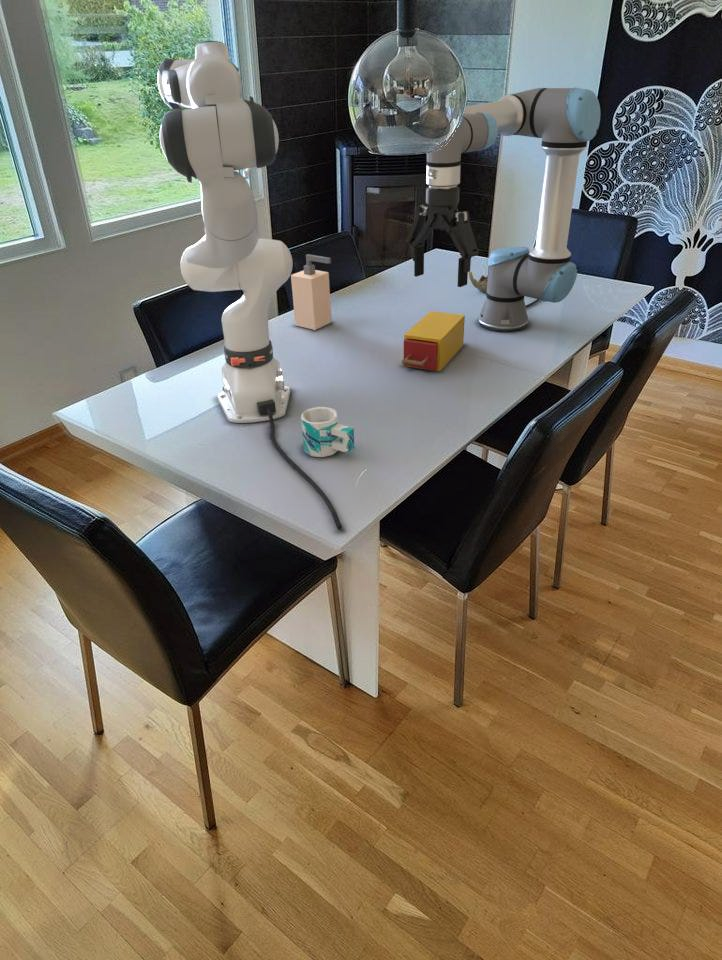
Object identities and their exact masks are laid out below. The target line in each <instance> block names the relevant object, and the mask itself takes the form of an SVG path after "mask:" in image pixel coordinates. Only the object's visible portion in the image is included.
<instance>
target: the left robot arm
mask: <svg viewBox="0 0 722 960" xmlns="http://www.w3.org/2000/svg"><path fill="white" fill-rule="evenodd" d="M194 49H195V50H194V52H195V53H194V56H195V57H194V58H188V59H187V58H186V59H185V58H184V59H177V58H173V59H172V58H165V59H164V60H163V61H162V62H161V63H160V65H159V67H158V70H157V77H156V78H157V79H156V80H157V87H158V91H159V94H160V96H161V99H162V100H163V102H164V104H165V105H166V106H168V107H169V108H170V109H171V110H170V111H167V112H165V113H164V114H163V116H162V118H161V124H160V127H159V145H160V147H161V150H162V153H163V155H164V156H165V158H166V160H167V163H168V165H170V166H171V168H172V169H173V170H174V171H176V172H177V173H178V174H179V175H182V176H183V177H186V180H187V182H188V183H192V182H193V178H194V179H196V180H197V181H198V182H199V186H200V199H201V202H200V203H201V205H200V207H201V216H202V221H203V226H204V235H203V237H202V238H201V239H199V240H198V241H197V242H196V243H195V244H193V245H190V246H188V247H187V248H185V250H184V251H183V253H182V255H181V258H180V264H179V265H180V266H179V268H180V269H179V270H180V274H181V277H182V279H183V280H184V282H185V284H186V285H187V286H188V287H189V288H190V289H191V290H193V291H200V292H206V293H207V292H209V293H216V292H228V291H239V290H240V291H244V292H243V294H242V296H241V297H240V298H239V299H238V300H236V301H235V302H233V303H231V304H230V305H229V306H227V307H226V308H225V309H224V311H223V312H222V315H221V327H222V333H223V334H222V335H223V340H224V345H223V355H224V359H225V363H224V364H223V365H222V366H221V367H220V369H221V377H222V383H223V386H222V392H219V393H218V394H217V401H218V403H219V404H220V405H219V406H220V407H221V409H222V411H223V413H224V415H225V418H226V419H227V421H228V422H229V423H235V424H236V423H237V424H249V423H258V422H266V421H269V427H270V432H269V439H270V441H271V443H272V445H273V447H274V448H275V450H276V451H277V452H278V453H279V454H280V456H282V458H283V459H284V460H285V461H286V462H287V463H288V464H289V465H290V466H291V467H292V468H293V469H294V470H295V471H296V472H297V473H298V474H299V475H300V476H301V477H302V478H303V479H305V480H306V481H307V482H308V483H309V484H310V485H311V487H312V488H313V489H314V490H315V491H316V492H317V493H318V495H319V496H320V497H321V498H322V500H323V501H324V502H325V504H326V506H327V508H328V509H329V511H330V513H331V516H332V519H333V521H334V524H335V526H336V529H337V530H339V531H340V530H342V529H343V526H342V524H341V522H340V519H339V516H338V514H337V512H336V509H335V508H334V505H333V503H332V502H331V500H330V499H329V497H328V496H327V495H326V494H325V492H324V491H323V490H322V489H321V488H320V487H319V485H318V484H317V482H316V481H314V479H312V478H311V477H310V476H309V474H307V473H306V472H305V471H304V470H303V469H302V468H300V466H299V465H298V464H297V463H295V462H294V460H292V459H291V458H290V457H289V456H288V455H287V454H286V452H285V451H284V450H283V449H282V448H281V446H280V445H279V444H278V442H277V441H276V438H275V422H274V420H276V419H279V418H283V417H284V416H285V415H286V413H287V409H288V405H289V399H290V396H291V392H292V391H291V387H290V386H288V385H285V381H284V379H283V371H282V368H281V364H280V361H279V360H278V359H276V358H275V357H274V348H273V347H274V346H273V344H272V341H271V339H270V331H269V330H270V329H269V309H270V306H271V303H272V300H273V297H274V295H275V294H276V293H277V291H278V290H279V289H280V288H281V287H282V286H283V285H284V284H285V283H286V282H287V281H288V280H289V278H290V277H291V275H292V271H293V267H294V266H293V264H294V263H293V257H292V254H291V251H290V249H289V247H288V246H287V245H286V244H285V243H284V242H283V241H282V240H278V239H271V238H259V221H258V211H257V205H256V199H255V197H254V193H253V191H252V189H251V186H250V184H249V181H248V180H247V179H251V178H250V177H251V175H250V171H251V169H252V168H256V169H261V168H264V167H268V166H270V165H272V164H273V163H274V162H275V160H276V158H277V153H278V150H279V145H280V143H279V142H280V138H279V137H280V136H279V131H278V127H277V125H276V123H275V120H274V119H273V115H272V114H271V113H270V111H268V110H267V108H265V106H263V105H261V104H259V103H257V102H255V100H254V97H253V96H252V95H249V100H248V99H242V98H243V90H244V89H243V81H242V78H241V76H240V73H239V70H240V68H238V67H237V65H235V64H234V63H233V62H232V61H231V56H230V52H229V48H228V45H227V44H226V43H225V42H223V41H217V40H206V41H202V42H199V43H197V44H196V45H195V48H194ZM240 170H241V171H242V173H243V174H242V173H240V172H238V171H240Z"/></svg>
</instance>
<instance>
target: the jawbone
mask: <svg viewBox="0 0 722 960" xmlns="http://www.w3.org/2000/svg"><path fill="white" fill-rule="evenodd" d="M473 275H474V274H473V271H472V270H470V272H468V276H469V277H468V278H469V280H470V283H471V284H472V285H473V287H474V288H476V289H477V291H479V292H480V293H487V279H488V274H487V275H486V276H485V275H484V274H482V275H481V277H479V279H478V280H477V279H476V278H474V276H473Z"/></svg>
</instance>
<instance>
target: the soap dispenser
mask: <svg viewBox="0 0 722 960" xmlns="http://www.w3.org/2000/svg"><path fill="white" fill-rule="evenodd" d="M305 262H306V263H305V265H303V270H300V271H298V272H295V273H292V274H290V281H291V282H290V283H291V292H292V304H293V311H294V312H293V315H294V325H295V326H297V327H301V328H304V329H310V330H313V331H316V330H318V329H320V328H322V327H324V326H326V325H329V324H331V323H333V322H332V306H331V290H330V289H331V288H330V273H329V271H325V270H324V271H323V270H318V269H316V265H315V264H313V263H312V262H317V263H321V264H326V265H327V264H328V265H329V264H332V258H331V257H327V256H322V255H315V254H309V253H307V254H305Z"/></svg>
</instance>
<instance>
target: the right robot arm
mask: <svg viewBox="0 0 722 960" xmlns="http://www.w3.org/2000/svg"><path fill="white" fill-rule="evenodd" d="M464 107H465V110H464V114H463V115H462V119H461V122H460V120H459V122H458V124H457V126H458V125H459V123H460V125H459V127H458V128H457V126H456V128H455V130H456V132H455V131H454V132H453V133H452V134H451V136H450V137H449V139H450V138H451V140H450V141H449V139H448V141H449V142H448V141H447V142H446V140H445V141H444V142H442V143H441V144H440V143H439V144H440V145H439V146H437V147H434V148H432V149H434V150H431V151H435V152H430V153H427V152H426V176H425V177H426V179H425V181H426V182H425V183H426V185H427V187H426V188H425V204H420V205H418V206H416V207H415V216H414V219H413V221H412V224H411V227H410V229H409V232H408V235H407V237H406V240H405V244H406V245H409V246H410V247H411V248H412V262H414V263H413V264H414V267H413V270H414V271H413V273H414V274H413V276H414V277H416V278H417V277H419V276H422V275H424V274H425V247H424V243H425V241H426V240H427V239H428V237H429V236H430V234H431V233H432V232H433V230H440V231H442V232H443V231H445V232H446V233H447V234H448V235H449V236H450V238H451V240H452V242H453V244H454V246H455V248H456V250H457V251H458V253H459V255H460V257H459V258H458V264H457V288H462V287H464V286H467V285H468V278H469V277H468V276H469V272H470V271H471V265H472V264H471V263H472V258H473V257H476V256H478V255H479V253H480V251H479V249H478V245H477V242H476V238H475V235H474V232H473V229H472V226H471V222H470V212H469V211H468V210H465V211H458V206H459V203H460V187H459V186H458V185H460V184H461V162H462V160H461V158H462V154H467V153H471V152H477V151H478V152H481V151H483V150H486V149H488V148H490V147H491V146H493V145H494V143H495V142H496V140H497V138H498V134H499V135H501V136H504V137H510V136H522V137H530V138H537V139H541V144H540V145H541V146H540V147H541V149H542V150H543V152H544V153H545V161H544V169H543V179H542V187H541V195H540V203H539V204H540V205H539V212H538V213H539V214H538V220H537V221H538V222H537V229H536V239H535V246H534V247H533V248H532V249H531V250H530V249H529V248H528V247H526V246H508V247H507V246H506V247H501V248H497V249H495V250H493V251H491V253H490V254H489V257H488V264H487V275H488V279H487V292H486V296H485V301H484V303H483V306H482V308H481V311H480V314H479V316H478V324H479V326H480V327H482V328H483V329H487V330H488V331H489V330H490V331H494V332H503V333H504V332H516V331H520V330H523V329H525V328H526V327H528V324H529V316H528V311H527V308H529V307H531V306H533V305H534V304H536V303H538V302H539V301H542V302H546V303H547V302H548V303H560V302H561V301H563V300H565V299H566V297H567V296H568V295H569V294H570V292H571V291H572V289H573V287H574V285H575V283H576V280H577V276H578V270H580V268H579V266H577V265H576V264H575V263H574V262H571V260H572V259H571V258H572V252H570V250H569V249H568V247H567V246H568V242H569V241H568V240H569V234H570V233H569V232H570V227H571V226H570V225H571V219H572V211H573V204H574V197H575V190H576V183H577V176H578V168H579V161H580V155H581V154H582V153H583V152H584V151H585V150H586V149H587V146H588V142H589V141H591V140H593V139H594V138H595V136H596V135H597V131H598V130H599V127H600V123H601V105H600V102H599V99H598V96H597V95H596V93H595V92H594V91H592V90H591V89H588V88H581V87H538V88H537V87H536V88H532V89H528V90H524V91H523V90H522V91H519V92H515V93H511V94H506V95H503V96H501V97H500V98H499V99H498V100H495V101H490V102H489V101H488V102H484V103H483V102H482V103H478V104H471V105H465V106H464ZM460 118H461V117H460ZM453 134H454V135H453ZM452 135H453V137H452ZM445 142H446V143H445ZM447 143H448V144H447ZM446 144H447V145H446ZM442 145H443V146H442ZM445 145H446V146H445ZM440 146H442V147H440ZM444 146H445V147H444ZM438 147H439V148H438ZM443 147H444V148H443ZM441 148H442V149H441ZM439 149H441V150H439ZM437 150H438V151H437ZM426 217H427V220H426ZM425 220H426V221H425ZM525 297H526V298H531V299H535V300H534V301H531V302H530V303H528V304H526V303H525V302H526V301H525Z"/></svg>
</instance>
